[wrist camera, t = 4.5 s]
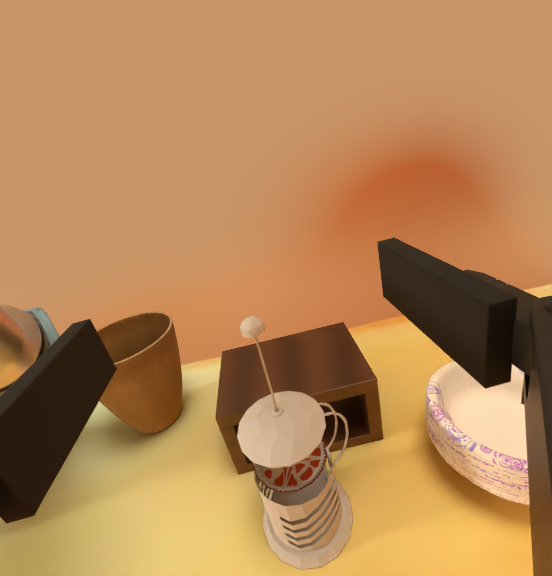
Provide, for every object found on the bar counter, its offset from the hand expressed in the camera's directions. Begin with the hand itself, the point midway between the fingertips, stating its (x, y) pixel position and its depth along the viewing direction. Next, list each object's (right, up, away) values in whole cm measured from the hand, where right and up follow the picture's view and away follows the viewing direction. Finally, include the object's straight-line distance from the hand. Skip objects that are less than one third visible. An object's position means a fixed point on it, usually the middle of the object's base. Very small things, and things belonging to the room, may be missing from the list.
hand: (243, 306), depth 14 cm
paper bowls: (+27, -18, +21) cm, 39 cm away
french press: (+6, -23, +20) cm, 31 cm away
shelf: (+5, -18, +32) cm, 37 cm away
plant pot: (-18, -21, +38) cm, 47 cm away
